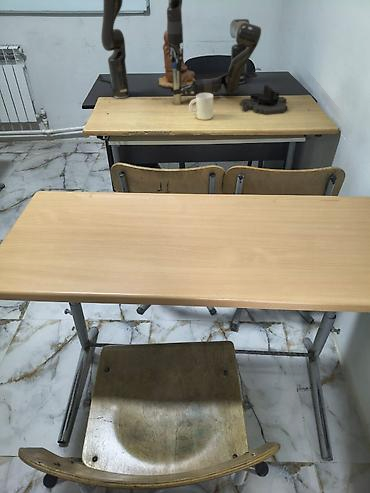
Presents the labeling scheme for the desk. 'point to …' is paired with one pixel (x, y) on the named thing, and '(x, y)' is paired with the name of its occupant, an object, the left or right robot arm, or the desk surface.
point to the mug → (203, 106)
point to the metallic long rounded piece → (177, 85)
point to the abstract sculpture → (265, 102)
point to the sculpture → (168, 79)
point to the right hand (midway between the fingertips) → (172, 91)
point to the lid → (174, 65)
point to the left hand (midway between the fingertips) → (176, 68)
